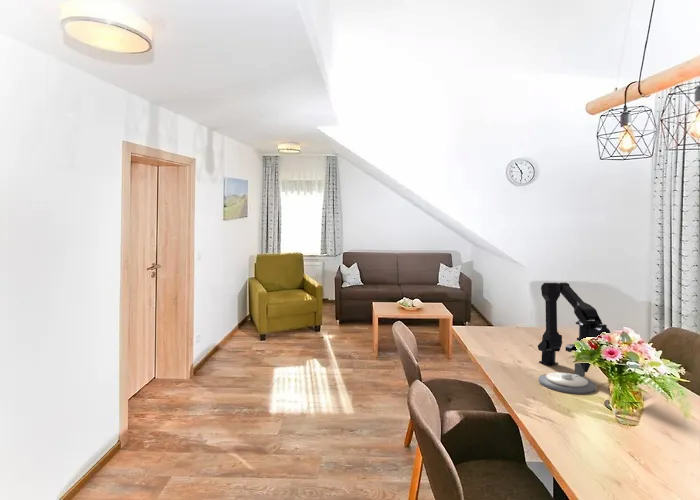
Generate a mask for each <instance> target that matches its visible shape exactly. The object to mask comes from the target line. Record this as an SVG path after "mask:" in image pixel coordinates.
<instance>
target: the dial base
mask: <svg viewBox="0 0 700 500" xmlns="http://www.w3.org/2000/svg"><path fill="white" fill-rule="evenodd" d="M549 373H550V372H547V373H543V374H540V375H539V376H538V383H539V384H540V385H541V386H543V387H544V388H546V389H549V390H553V391H557V392H560V393H566V394H573V395H575V394H576V395H581V394H582V395H585V394H586V395H587V394H588V395H589V394H593V393H594V392H596V390H597V385H596V382H593V381H592V380H590V379H587V378H586V379H587V380H588V385H586V386H583V387H569V386H563V385H558V384H555V383H552V382H550V381H548V380H547V379H546V375H547V374H549Z"/></svg>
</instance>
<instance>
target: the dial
mask: <svg viewBox="0 0 700 500" xmlns="http://www.w3.org/2000/svg"><path fill="white" fill-rule="evenodd" d="M548 373H549V374H548ZM548 373H546V374H547V375H546V379H547V380H548V381H550V382H552V383H555V384H558V385H563V386H569V387H583V386H586V385H588V380H589V379H588V380H587V378H585V376H586V372H584V370H583V368H582V366H581V364H580V362H577V363H576V362H575V363H574V374H573V373H568V372H557V371H556V372H548Z"/></svg>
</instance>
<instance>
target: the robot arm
mask: <svg viewBox="0 0 700 500" xmlns="http://www.w3.org/2000/svg"><path fill="white" fill-rule="evenodd" d="M540 290H541V291H540V292H541V296H542V297H543V299H544V301H545V331H544V333H543V334H542V338H541V339H542V340H541V341H540V342H539V343H538V345H537V350H538V351H540V352H541V360H539V361H538V363H539V364H544V365H547V366H556V365H559V362H557V361H556V356H557V355H556V352H561V351H560V350H561V347H562V346H563V345H562V344H563V336H562V334H560V333H559V331H558V314H557V313H558V306H557V305H558V304H557V303H558V299H559V298H560V296H562V297H564V298H565V300H566V301H567V303H569V305H571V307H572V308H573V314H574V315H575V316H576V318H577V320H578V321H576V322H575V324H576V325H578V337H576V341H578V342H579V341H580V340H581V339H583V338H586V337H597V336H598V335H600V334H601V333H602V332H606V333H611V330H610V329H609V328H608V326H607V324H603V321H602V319H601V318H600V316H599V314H598V311H597V309H596V308H595V307H593V306H592V305H591V304H589V303H587V302H585V301H583V299H582V298H581V297H580V296H579V295H578V294H577V293H576V291H574V290H573V288H572V286H571V285H570V284H569V283H568V282H543V283H542V284H541V287H540ZM575 344H576V343H574V344H573V343H569V344H566V346H565V352H568V353H571V352H573V351H575V352H577V351H576V350H577V349H576V347H575ZM579 363H580V362H579ZM580 364H581V366H582V368H583V370H584V372H585V373H588V371H589V369H590V367H591V365H592V363H591V364H589V363H580Z"/></svg>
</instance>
